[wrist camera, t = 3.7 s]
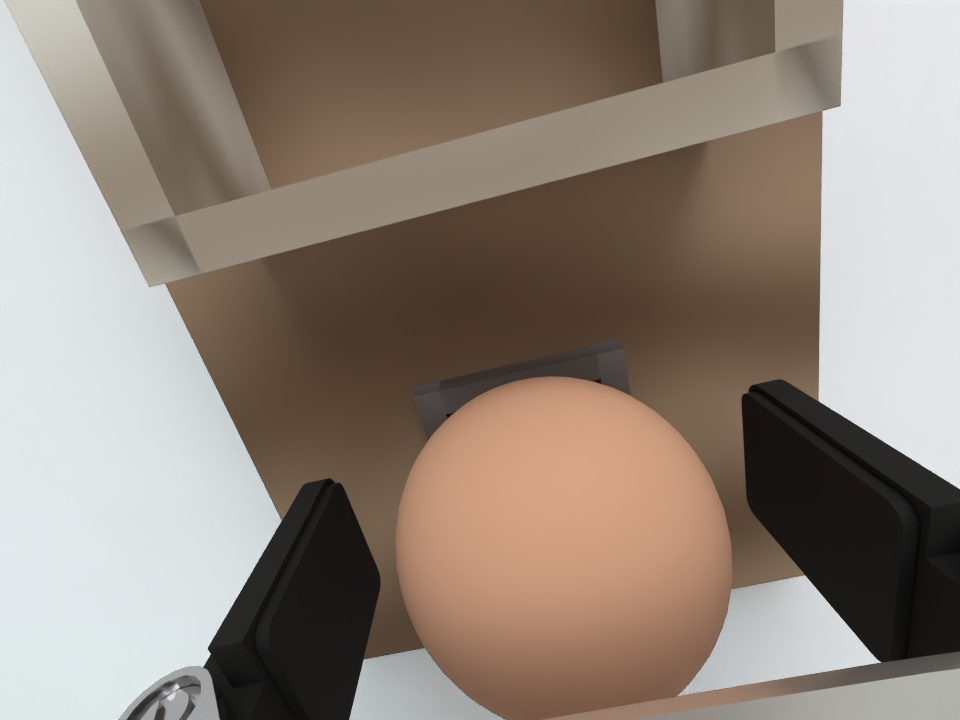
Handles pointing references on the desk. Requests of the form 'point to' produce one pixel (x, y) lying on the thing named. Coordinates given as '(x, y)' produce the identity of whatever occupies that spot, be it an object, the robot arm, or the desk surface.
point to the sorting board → (463, 215)
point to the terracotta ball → (563, 551)
